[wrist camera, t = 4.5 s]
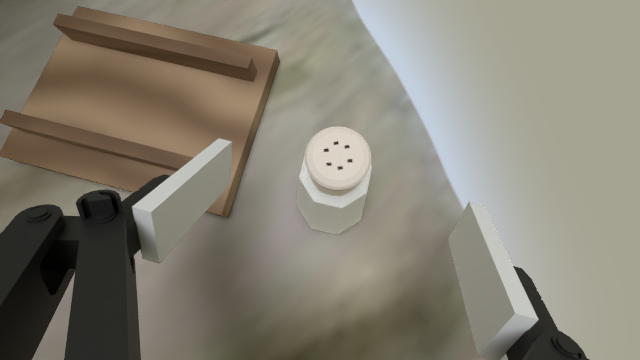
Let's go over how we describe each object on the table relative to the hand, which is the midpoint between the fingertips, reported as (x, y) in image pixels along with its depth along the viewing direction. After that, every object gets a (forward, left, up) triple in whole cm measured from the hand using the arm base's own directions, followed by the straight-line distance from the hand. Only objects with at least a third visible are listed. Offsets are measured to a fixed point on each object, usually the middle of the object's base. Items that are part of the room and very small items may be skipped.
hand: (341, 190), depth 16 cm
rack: (-17, -5, -7) cm, 19 cm away
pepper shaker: (-1, 0, -7) cm, 7 cm away
